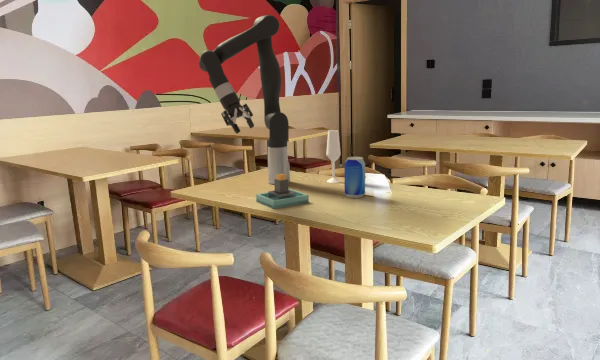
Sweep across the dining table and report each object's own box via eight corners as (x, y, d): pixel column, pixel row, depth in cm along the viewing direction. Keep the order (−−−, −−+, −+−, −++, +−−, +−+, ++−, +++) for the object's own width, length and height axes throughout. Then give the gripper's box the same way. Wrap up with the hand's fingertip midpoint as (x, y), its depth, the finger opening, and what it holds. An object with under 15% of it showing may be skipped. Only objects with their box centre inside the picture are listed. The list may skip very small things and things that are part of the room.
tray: (290, 195, 206) (289, 188, 205) (308, 202, 194) (308, 195, 193) (256, 201, 197) (256, 194, 196) (273, 209, 186) (273, 201, 185)
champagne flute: (339, 183, 227) (339, 131, 222) (325, 182, 228) (325, 131, 223) (341, 180, 233) (341, 129, 228) (327, 179, 235) (327, 129, 230)
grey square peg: (283, 197, 198) (282, 173, 196) (288, 199, 195) (288, 174, 193) (275, 198, 196) (274, 174, 194) (280, 200, 193) (279, 176, 190)
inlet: (285, 195, 201) (285, 188, 200) (296, 199, 194) (295, 192, 194) (268, 198, 197) (268, 191, 196) (278, 202, 190) (278, 195, 189)
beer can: (341, 197, 201) (341, 159, 198) (349, 192, 208) (349, 155, 205) (360, 199, 197) (360, 160, 194) (367, 194, 204) (368, 156, 201)
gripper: (219, 95, 197) (239, 130, 197) (243, 88, 207) (262, 122, 207) (210, 103, 202) (228, 138, 202) (233, 96, 212) (251, 129, 212)
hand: (245, 130), depth 205 cm, fingers open, 8 cm apart
